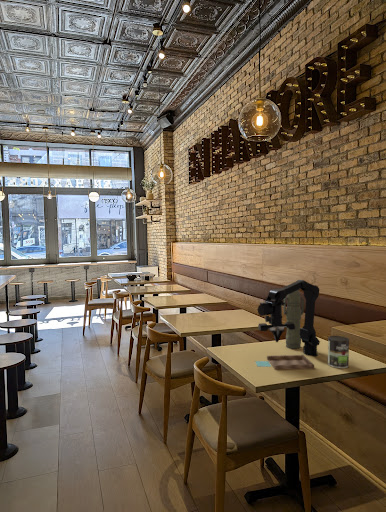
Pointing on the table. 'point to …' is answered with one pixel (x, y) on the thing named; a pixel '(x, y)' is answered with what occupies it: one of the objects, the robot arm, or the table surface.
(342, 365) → the coffee can
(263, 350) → the table surface
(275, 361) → the brown flat tray
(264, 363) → the cover plate
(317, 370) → the table surface
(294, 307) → the thermos
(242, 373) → the table surface
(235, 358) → the table surface
